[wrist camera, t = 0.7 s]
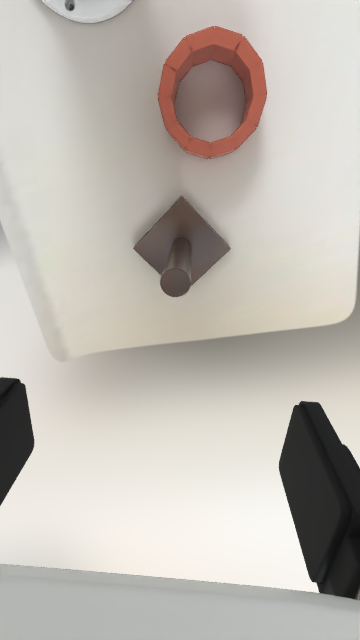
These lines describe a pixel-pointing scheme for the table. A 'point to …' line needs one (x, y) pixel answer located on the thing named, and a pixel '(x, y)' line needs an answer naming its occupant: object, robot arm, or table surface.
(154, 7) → the table surface
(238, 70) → the hoop
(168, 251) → the stand
